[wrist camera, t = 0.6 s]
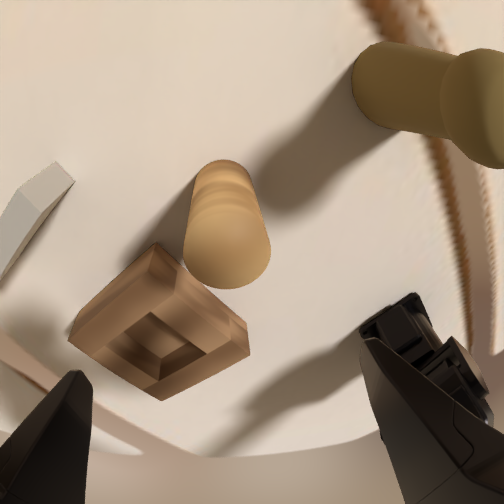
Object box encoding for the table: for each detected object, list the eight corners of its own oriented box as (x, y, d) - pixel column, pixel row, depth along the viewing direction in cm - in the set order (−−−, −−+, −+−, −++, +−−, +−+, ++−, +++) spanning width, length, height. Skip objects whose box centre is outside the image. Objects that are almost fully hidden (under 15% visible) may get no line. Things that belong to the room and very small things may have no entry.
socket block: (246, 322, 26) (250, 355, 23) (164, 371, 29) (161, 401, 26) (156, 242, 22) (147, 271, 19) (79, 311, 24) (67, 340, 21)
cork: (396, 146, 20) (510, 217, 10) (332, 87, 17) (445, 114, 8) (442, 86, 17) (568, 124, 8) (386, 23, 15) (515, 12, 6)
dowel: (263, 190, 20) (287, 257, 14) (219, 223, 21) (222, 302, 15) (227, 147, 19) (233, 195, 12) (182, 184, 20) (164, 250, 13)
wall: (75, 181, 19) (41, 213, 14) (18, 257, 21) (-11, 295, 17) (55, 161, 18) (17, 188, 13) (2, 241, 20) (-30, 276, 16)
